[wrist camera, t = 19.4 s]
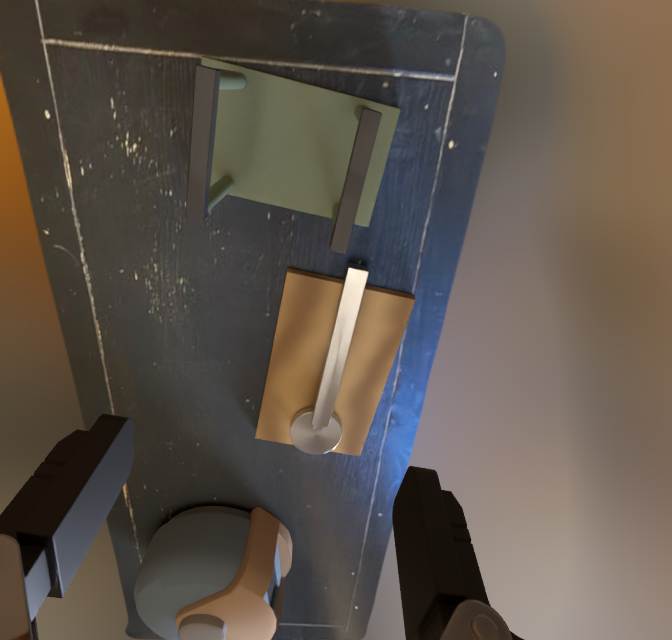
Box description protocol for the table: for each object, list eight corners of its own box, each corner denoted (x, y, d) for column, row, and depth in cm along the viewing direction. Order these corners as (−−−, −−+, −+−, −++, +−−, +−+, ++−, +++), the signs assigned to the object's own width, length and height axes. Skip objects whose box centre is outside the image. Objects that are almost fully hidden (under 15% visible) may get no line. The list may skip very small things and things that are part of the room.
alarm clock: (296, 582, 68) (289, 674, 57) (169, 584, 68) (138, 676, 57) (287, 499, 58) (276, 591, 48) (140, 501, 59) (97, 593, 48)
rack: (399, 108, 36) (422, 115, 26) (367, 223, 40) (377, 266, 31) (205, 56, 34) (153, 44, 24) (195, 183, 39) (148, 215, 29)
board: (413, 294, 44) (415, 299, 43) (359, 449, 54) (359, 456, 53) (288, 267, 42) (286, 271, 41) (256, 431, 53) (254, 438, 52)
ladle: (327, 254, 42) (327, 262, 39) (385, 266, 43) (390, 275, 40) (286, 443, 51) (283, 461, 48) (335, 451, 52) (336, 469, 49)
